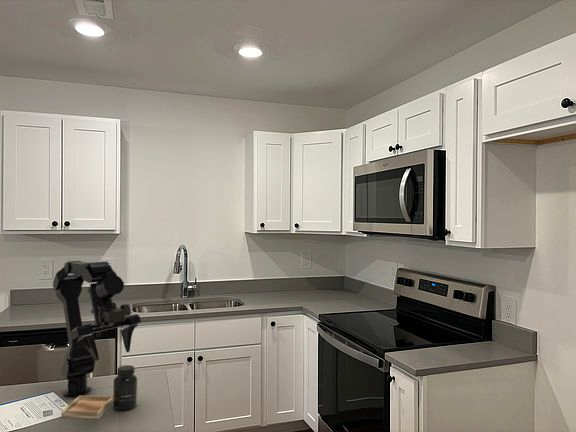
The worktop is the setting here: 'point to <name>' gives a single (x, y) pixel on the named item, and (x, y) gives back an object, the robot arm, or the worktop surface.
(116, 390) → the supplement bottle
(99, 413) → the tray
